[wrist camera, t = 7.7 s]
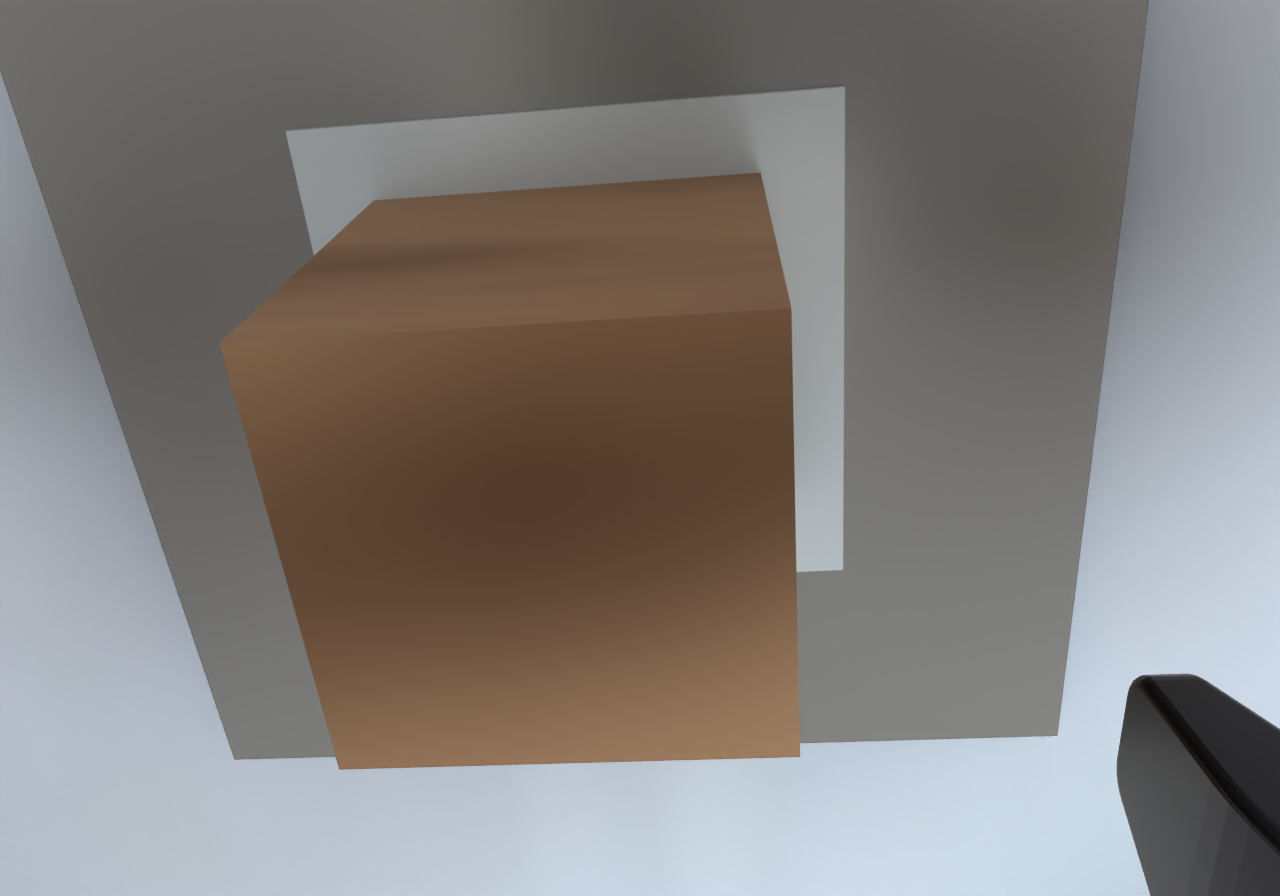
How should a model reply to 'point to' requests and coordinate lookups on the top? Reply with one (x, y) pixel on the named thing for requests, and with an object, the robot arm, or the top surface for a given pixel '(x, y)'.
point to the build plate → (629, 152)
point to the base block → (537, 475)
